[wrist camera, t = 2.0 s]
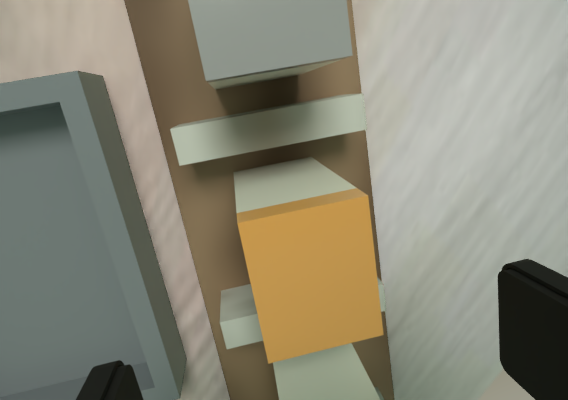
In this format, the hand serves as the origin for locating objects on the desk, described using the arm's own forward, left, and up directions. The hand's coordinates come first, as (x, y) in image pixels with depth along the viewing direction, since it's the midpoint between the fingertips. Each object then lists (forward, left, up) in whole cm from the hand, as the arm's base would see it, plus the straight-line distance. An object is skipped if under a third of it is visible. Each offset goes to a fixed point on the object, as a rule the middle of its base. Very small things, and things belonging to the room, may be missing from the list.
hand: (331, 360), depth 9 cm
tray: (+13, -1, -12) cm, 17 cm away
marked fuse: (0, -1, -11) cm, 11 cm away
